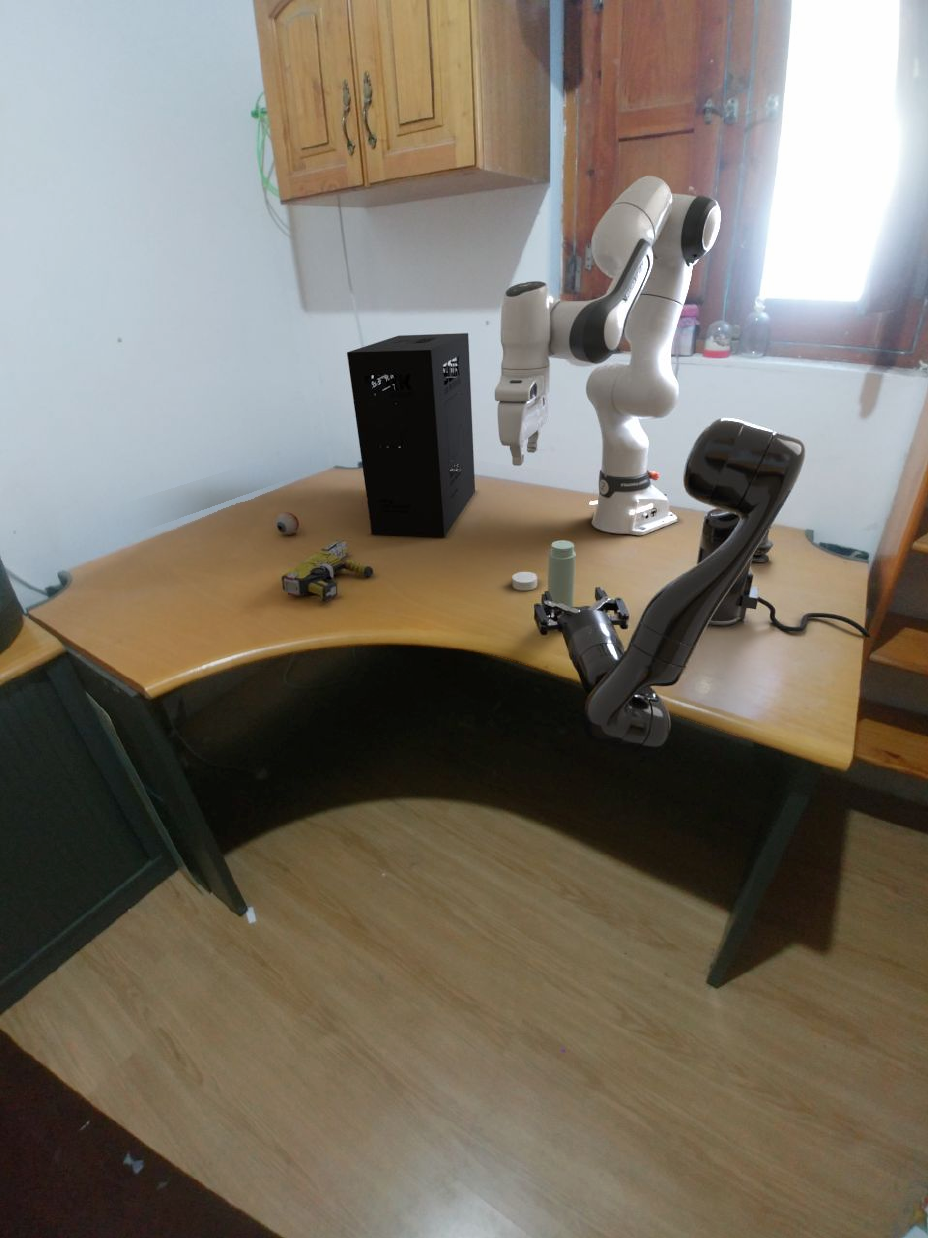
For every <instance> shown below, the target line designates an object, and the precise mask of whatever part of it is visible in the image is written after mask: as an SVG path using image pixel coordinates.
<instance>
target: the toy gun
mask: <svg viewBox="0 0 928 1238" xmlns="http://www.w3.org/2000/svg"><path fill="white" fill-rule="evenodd" d="M345 548H348V543H347V542H346V541H343V540H342V541H341V540H339V539H338V540H335V541H334V542H333V543H331V544H330V545H327V546H326V547H325V548H321V549H320V550H318V551H317V552H316V553H314V554H312V555H311V556H310V557H307V559H305V560H304V561H302V562H300V563H299V564H298V565H296V566H294V567H293V568H291V569H290V570H288V571H287V572H285V573H284V574H282V576H281V585H282V586H281V587H282V590H283V591H284V592H285V593H287V596H292V597H295V596H302V597H303V596H307V595H310V594H315V595H318V596H320V597H322V601H323V602H325V603H327V602H328V601H330V600H332V599H333V598H335V597H337V596H338V594H339V593H338V582H337V581H336V580H334V578H335V577H334V575H336V574H337V573H340V572H342V571H343V570H346V571H349V572H353V573H355V574H358V575H361V576H364V577H366V578H370V577H372V576H373V575H374V569H373V567H372V566H370V565H365V564H361V563H359V562H357V561H352V560H349V559H347V560H345V561H344V562H342V560H343V558H344V557H347V556H348V554H349V553H348V549H346V552H344V549H345Z"/></svg>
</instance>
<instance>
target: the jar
mask: <svg viewBox="0 0 928 1238" xmlns="http://www.w3.org/2000/svg"><path fill="white" fill-rule="evenodd" d="M550 549H551V550H549V552H548V567H547V568H548V570H547V571H548V573H547V591H549V592H550V595H551V597H552V600H553V602H554V603H556V604H559V603H562V604H564V605H567V606H569V607H574V603H575V599H574V598H575V577H576V574H575V573H576V559H577V557H576V555H577V554H576V552H575V544H574V543H573V542H572V541H569V540H556V541H553V542H552V543H551V544H550ZM552 612H553V613H554V610H553V609H552ZM563 613H564V612H562V614H563ZM551 620H552V619H551ZM552 621H553V620H552ZM555 631H556V632H559V631H558V630H555Z"/></svg>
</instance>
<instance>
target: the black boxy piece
mask: <svg viewBox="0 0 928 1238" xmlns="http://www.w3.org/2000/svg"><path fill="white" fill-rule="evenodd" d="M469 341H470V340H469V332H462V333H461V332H460V333H459V332H458V333H457V332H455V333H434V334H433V333H432V334H407V335H406V334H405V335H404V334H403V335H396V336H393V337H390V338H387V339H384V340H380V341H377V342H374V343H371V344H368V345H365V346H362V347H358V348H356V349H353V350H350V351H347V352H346V356H347V364H348V371H349V379H350V384H351V394H352V401H353V407H354V414H355V415H354V416H355V421H356V429H357V437H358V444H359V453H360V459H361V466H362V474H363V481H364V488H365V495H366V503H367V509H368V510H367V511H368V517H369V525H370V532H371V535H379V536H403V537H404V536H405V537H428V538H429V537H430V538H431V537H432V538H446V536H447V534H448V533H449V531H450V530H451V528H452V527H453V525H454V524H455V523H456V521H457V520H458V518H459V517H460V515H461V513H462V512H463V510H464V509H465V507H466V506H467V504H468V503H469V501H470V500H471V499H472V497H473V495H474V494H475V492H476V482H475V480H476V477H475V459H474V457H475V455H474V432H473V412H472V410H473V409H472V388H471V387H472V386H471V367H470V366H471V365H470V364H471V363H470V344H469V343H470V342H469ZM449 363H450V364H449Z"/></svg>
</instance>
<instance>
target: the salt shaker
mask: <svg viewBox="0 0 928 1238" xmlns="http://www.w3.org/2000/svg"><path fill="white" fill-rule="evenodd" d="M771 529H772V525H771V526H770V528H769V530H768V531H767V533H766V534H765V536H764V538H763V539H762V541H761V542H760V544H759V546H758V547H757V549H756V550H755V552H754V554H753V557H752V562H755V563H763V562H767V561H768V560H769V559H770V557H769V555H767V554H768V553H769V552H770V551H771V550H772V547H773V546H774V542H773V541H772V540H770V539H769V533H770V530H771Z"/></svg>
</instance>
